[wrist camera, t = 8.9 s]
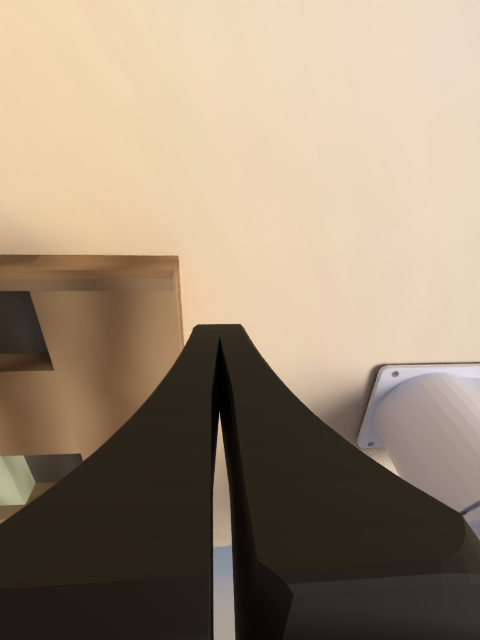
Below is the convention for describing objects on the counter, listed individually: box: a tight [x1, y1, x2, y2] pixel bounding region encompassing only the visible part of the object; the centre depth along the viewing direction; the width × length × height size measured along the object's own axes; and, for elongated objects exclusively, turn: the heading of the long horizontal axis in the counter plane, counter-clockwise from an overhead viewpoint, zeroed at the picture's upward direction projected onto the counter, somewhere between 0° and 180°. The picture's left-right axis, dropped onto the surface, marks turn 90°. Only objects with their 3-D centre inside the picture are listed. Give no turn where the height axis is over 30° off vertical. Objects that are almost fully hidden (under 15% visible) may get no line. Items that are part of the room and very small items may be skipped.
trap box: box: [0, 255, 184, 524], centre depth 20 cm, size 20×19×4 cm
